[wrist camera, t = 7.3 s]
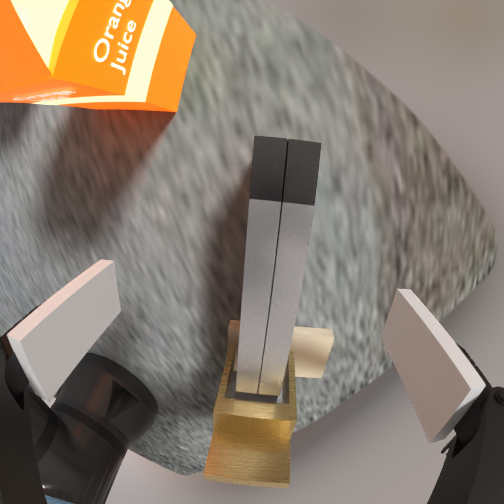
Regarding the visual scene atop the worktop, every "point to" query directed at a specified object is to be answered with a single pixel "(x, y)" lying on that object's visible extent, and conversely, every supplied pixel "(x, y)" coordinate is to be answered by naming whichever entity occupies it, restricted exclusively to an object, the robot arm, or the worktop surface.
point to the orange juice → (94, 53)
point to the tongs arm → (289, 259)
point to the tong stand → (305, 355)
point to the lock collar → (252, 434)
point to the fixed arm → (259, 256)
